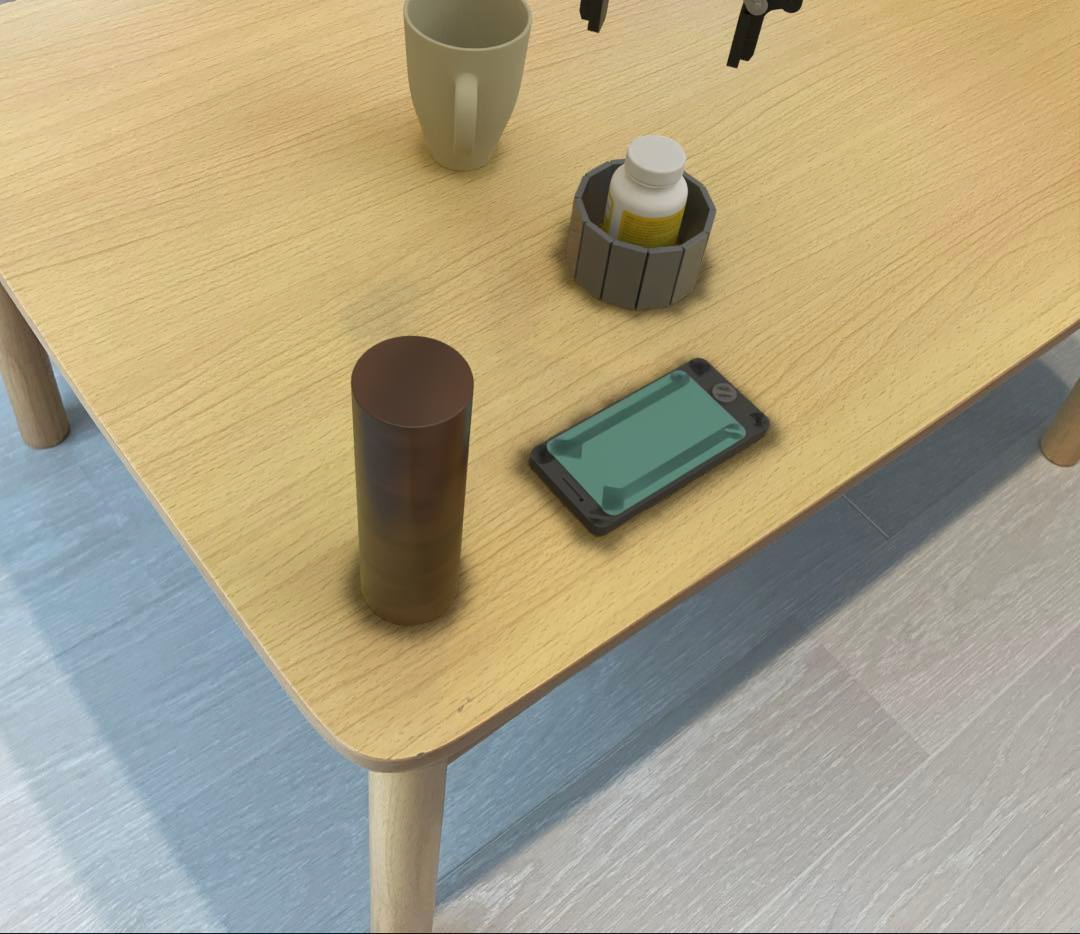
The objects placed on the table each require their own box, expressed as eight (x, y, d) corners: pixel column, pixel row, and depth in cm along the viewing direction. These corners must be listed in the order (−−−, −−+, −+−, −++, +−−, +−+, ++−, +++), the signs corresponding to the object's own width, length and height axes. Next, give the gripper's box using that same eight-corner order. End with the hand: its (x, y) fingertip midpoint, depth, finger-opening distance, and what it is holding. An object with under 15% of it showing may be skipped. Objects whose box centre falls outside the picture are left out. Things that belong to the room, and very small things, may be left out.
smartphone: (775, 421, 77) (599, 529, 70) (770, 433, 78) (596, 540, 71) (699, 350, 80) (524, 447, 73) (695, 363, 81) (522, 459, 74)
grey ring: (710, 236, 88) (726, 178, 84) (683, 324, 83) (699, 267, 78) (586, 203, 89) (595, 144, 85) (551, 288, 84) (560, 229, 79)
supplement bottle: (684, 271, 86) (713, 164, 78) (625, 297, 84) (649, 189, 76) (640, 227, 88) (663, 118, 81) (581, 251, 86) (600, 141, 78)
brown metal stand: (470, 558, 70) (489, 353, 55) (439, 637, 66) (451, 442, 52) (381, 531, 70) (377, 321, 56) (346, 608, 67) (331, 407, 52)
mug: (369, 145, 91) (366, 4, 81) (469, 101, 95) (477, -38, 86) (457, 224, 87) (465, 85, 77) (558, 174, 91) (577, 37, 81)
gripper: (566, -251, 56) (534, 48, 69) (860, -184, 55) (771, 108, 68) (604, -309, 60) (567, -18, 73) (876, -247, 59) (790, 38, 72)
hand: (665, 42), depth 71 cm, fingers open, 8 cm apart
